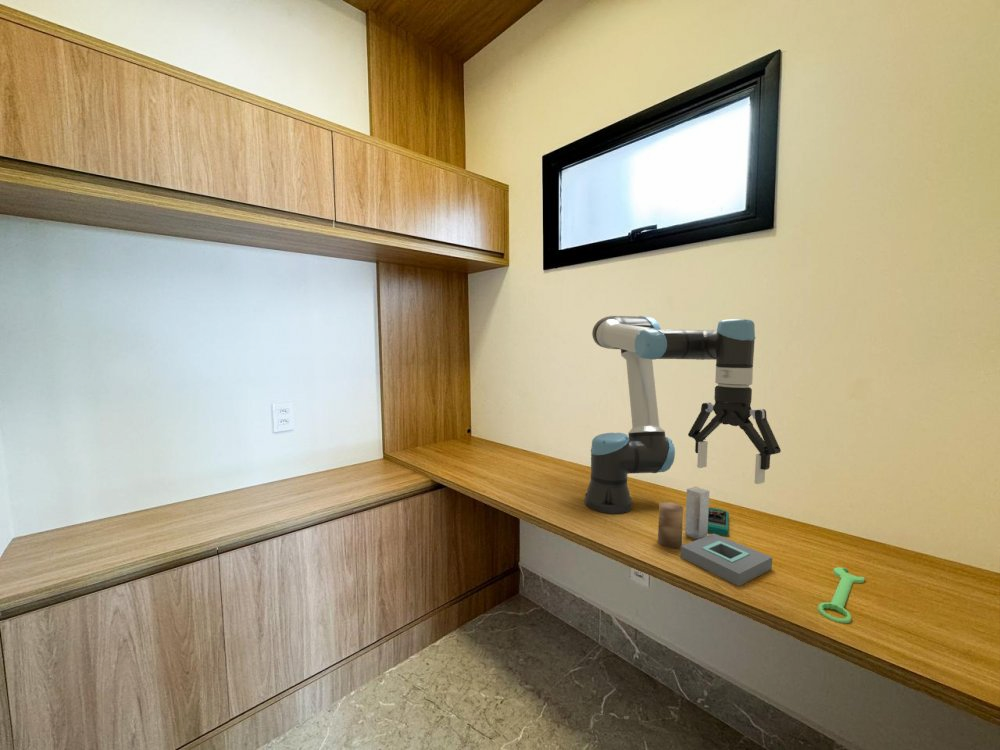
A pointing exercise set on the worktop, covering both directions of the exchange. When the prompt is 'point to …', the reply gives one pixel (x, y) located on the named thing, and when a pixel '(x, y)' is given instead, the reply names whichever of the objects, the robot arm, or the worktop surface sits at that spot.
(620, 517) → the worktop surface
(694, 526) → the square bit
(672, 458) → the robot arm
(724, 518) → the digital multimeter
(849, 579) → the wrench
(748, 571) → the socket plate
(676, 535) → the round dowel
